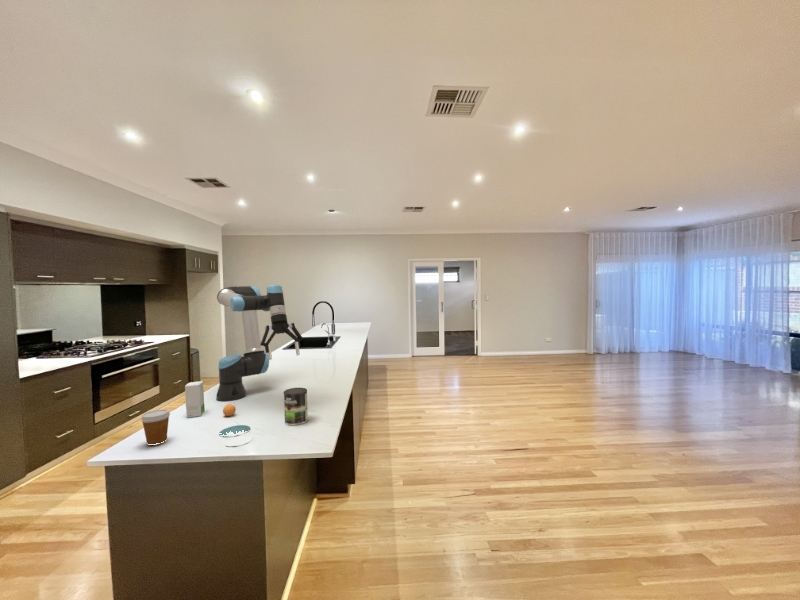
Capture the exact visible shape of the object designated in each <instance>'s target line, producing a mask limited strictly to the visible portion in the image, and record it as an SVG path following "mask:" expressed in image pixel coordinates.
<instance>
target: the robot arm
mask: <svg viewBox="0 0 800 600" xmlns="http://www.w3.org/2000/svg"><path fill="white" fill-rule="evenodd" d="M284 297H285V296H284V291H283V287H282V286H281V285H280V284H271V285H269V286H268V285H267V287H266V294H265V295H262V294H261V292H260V289H259V288H258V287H257V286H252V285H251V286H250V285H247V286H246V285H244V286H226V287H224V288H222V289H220V290H219V291H218V292H217V294H216V300H217V302H218V303H219V304H221V305H222V306H224V307H230V309H231V311H232V312H241V322H242V328H243V329H242V330H243V336H244V346H245V351H244V352H243V353H242V354H243V356H242V355H241V354H231V355H227V356H224V357H222V358H221V359H219V361H218V367H217V369H218V381H219V386H218V389H217V392H216V401H218V400H219V401H218V402H229V401H231V402H232V401H237V400H239V399H242V398H245V397H246V395H247V391H246V388H245V386H244V384H243V378H244V377H249V376H256V375H261V374H265V373H266V372H267V371H268V369H269V367H270V361H271V360H273V357H272V350H271V349H272V348H271V345H270V344H271V341H272V340H273V338H274V337H275V335H279V334H287V335H288V336H289V337H290V338H291V339H292V340H293V341H295V342H294V347H295V348H294V349H295V353H296V356H299V355H300V354H301V353H300V349H301V341H302V340H304V337H303V336H302V334H301V333H300V332H299V330H298V329H297V328H296V326H295V323H294V322H291V323H288V317H287V316H288V315H287V314H286V312H287V311H286V305H285V299H284ZM258 311H264V312H269V316H270V321H271V322H270V323H271V325H268V324H267V325H266V326H265V327H264V330H265V331H264V334H263V336H262V338H261V335H260V327H259V326H260V325H259V318H258ZM289 328H290V329H291V330H290V329H289ZM270 330H272V333H271V334H270V336H269V337H268V335H269V332H270ZM267 338H268V339H267ZM261 339H262V340H261ZM266 340H267V341H266ZM262 347H264V348H265V349H263V348H262Z"/></svg>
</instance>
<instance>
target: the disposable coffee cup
mask: <svg viewBox="0 0 800 600" xmlns="http://www.w3.org/2000/svg"><path fill="white" fill-rule="evenodd" d="M170 415H171V412H169V410H168V409H156V410H152V411H148V412H145V413H143V414H142V416H141V419H140V421H141V422H142V425H143V430H144V436H145V439H146V444H147V443H148V444H156V443H161V442H163V441H165V440H166V439H167V440H168V429H169V419H170Z"/></svg>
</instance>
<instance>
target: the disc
mask: <svg viewBox="0 0 800 600" xmlns="http://www.w3.org/2000/svg"><path fill="white" fill-rule="evenodd" d="M249 429H250V430H251V427H250V426H249V425H245V424H240V425H231V426H228V427H226V428H223V429H222V430H220V431H219V433H222V434H219V433H218V435H219V436H220V435H223V434H224V435H227V434H226V432H227V433H229V432H230V431H231V432H233V433H234V434H236V431H237V433H238V432H239V431H241V432H242V430H244V432H245V431H248V430H249ZM250 430H249V431H250ZM249 431H248V432H249ZM222 438H225V437H224V436H223V437H222Z"/></svg>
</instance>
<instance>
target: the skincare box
mask: <svg viewBox="0 0 800 600" xmlns="http://www.w3.org/2000/svg"><path fill="white" fill-rule="evenodd" d="M184 392H185V395H184V396H185V409H186V410H185V411H186V418H187V419H188V418H189V417H191V418H197V417H196V416H198V417H201V416H202V415H203V414H204V413H205V411H206V410H205V394H204V393H205V391H204V381H203V380H200V381H193V382H192V381H191V382H188V383H186V385H185V386H184ZM203 412H204V413H203Z"/></svg>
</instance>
